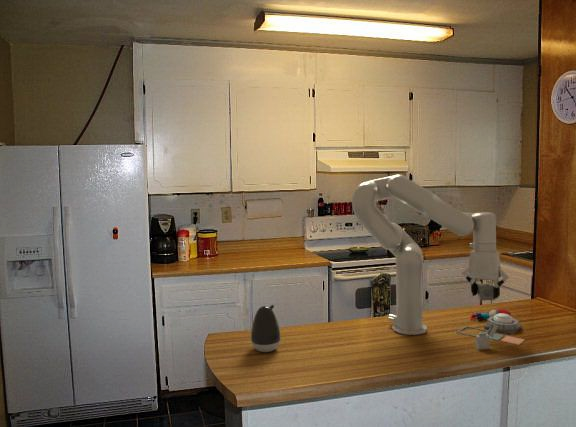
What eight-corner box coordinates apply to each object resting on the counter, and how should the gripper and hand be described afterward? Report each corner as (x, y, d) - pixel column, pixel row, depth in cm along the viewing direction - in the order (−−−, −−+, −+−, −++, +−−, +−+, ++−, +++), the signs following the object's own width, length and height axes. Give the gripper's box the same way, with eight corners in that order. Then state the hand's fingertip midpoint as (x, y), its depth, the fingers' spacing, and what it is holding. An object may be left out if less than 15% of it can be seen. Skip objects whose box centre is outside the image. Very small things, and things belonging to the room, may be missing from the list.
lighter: (478, 349, 162) (478, 326, 161) (475, 347, 164) (475, 324, 163) (497, 347, 163) (498, 324, 162) (494, 345, 165) (494, 322, 164)
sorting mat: (456, 332, 178) (456, 331, 178) (465, 326, 185) (465, 326, 185) (517, 346, 164) (517, 345, 164) (525, 339, 170) (525, 338, 170)
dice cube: (495, 300, 172) (494, 286, 172) (480, 300, 173) (479, 286, 173) (492, 296, 177) (491, 283, 176) (477, 297, 178) (477, 283, 178)
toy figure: (470, 325, 191) (511, 323, 185) (468, 312, 192) (509, 310, 185) (472, 321, 198) (512, 318, 192) (470, 309, 198) (510, 306, 192)
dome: (490, 324, 182) (491, 315, 181) (497, 320, 186) (497, 311, 186) (508, 328, 177) (508, 318, 177) (514, 323, 182) (514, 314, 182)
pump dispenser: (286, 346, 169) (285, 304, 167) (270, 357, 160) (269, 312, 158) (262, 342, 174) (260, 300, 172) (245, 351, 165) (243, 308, 164)
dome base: (484, 328, 182) (484, 321, 181) (494, 322, 189) (494, 314, 189) (512, 334, 175) (512, 326, 175) (521, 327, 182) (521, 319, 182)
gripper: (456, 247, 176) (457, 295, 178) (506, 250, 164) (507, 302, 166) (464, 244, 181) (465, 290, 183) (513, 247, 170) (514, 297, 172)
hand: (485, 295), depth 175 cm, fingers closed on dice cube, 6 cm apart
